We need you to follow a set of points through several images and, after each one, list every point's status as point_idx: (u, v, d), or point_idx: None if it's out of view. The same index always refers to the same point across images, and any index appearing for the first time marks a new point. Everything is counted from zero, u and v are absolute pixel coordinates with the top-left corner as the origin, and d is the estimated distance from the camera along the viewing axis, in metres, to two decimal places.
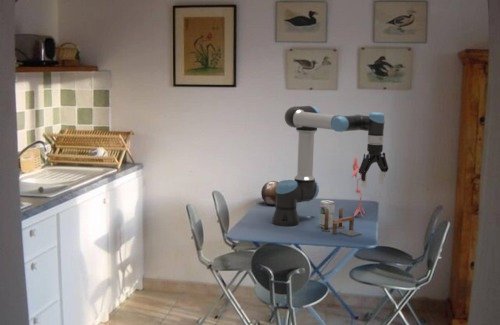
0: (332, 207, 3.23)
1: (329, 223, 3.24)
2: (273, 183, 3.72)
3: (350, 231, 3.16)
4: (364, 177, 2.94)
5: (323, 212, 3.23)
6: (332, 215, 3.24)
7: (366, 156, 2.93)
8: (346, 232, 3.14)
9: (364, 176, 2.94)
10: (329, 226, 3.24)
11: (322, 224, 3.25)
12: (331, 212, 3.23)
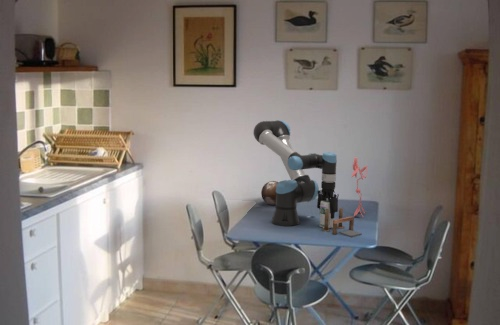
0: None
1: None
2: (273, 183, 3.72)
3: (350, 231, 3.16)
4: None
5: (323, 212, 3.23)
6: None
7: None
8: (346, 232, 3.14)
9: None
10: (329, 226, 3.24)
11: (322, 224, 3.25)
12: None
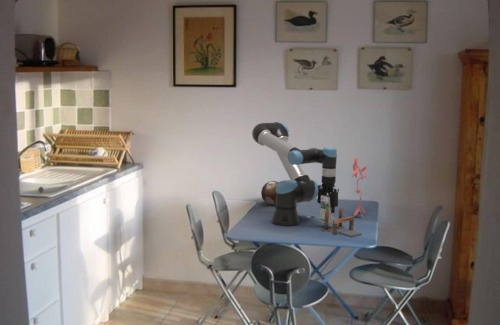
0: None
1: None
2: (273, 183, 3.72)
3: (350, 231, 3.16)
4: None
5: (323, 206, 3.23)
6: None
7: None
8: (346, 232, 3.14)
9: None
10: (329, 221, 3.23)
11: (322, 219, 3.24)
12: None
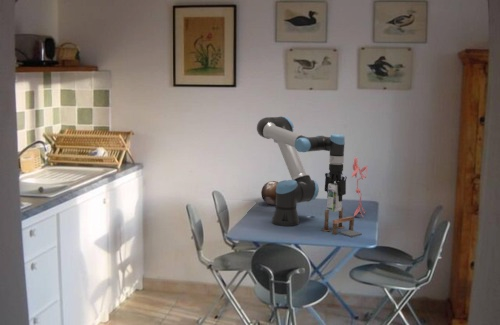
0: None
1: None
2: (273, 183, 3.72)
3: (350, 231, 3.16)
4: None
5: (331, 194, 3.18)
6: None
7: None
8: (346, 232, 3.14)
9: None
10: (337, 209, 3.18)
11: (330, 207, 3.19)
12: None
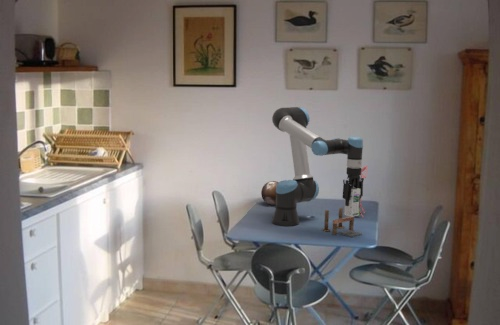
0: None
1: None
2: (273, 183, 3.72)
3: (350, 231, 3.16)
4: (348, 202, 3.07)
5: (357, 199, 3.08)
6: None
7: (345, 182, 3.04)
8: (346, 232, 3.14)
9: (348, 201, 3.07)
10: None
11: (355, 213, 3.09)
12: None
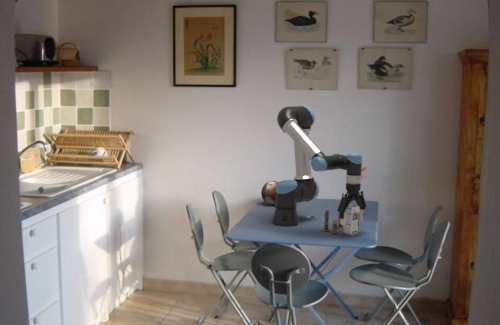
0: None
1: None
2: (273, 183, 3.72)
3: None
4: (343, 215, 3.06)
5: (356, 217, 3.10)
6: None
7: (344, 195, 3.05)
8: None
9: (343, 214, 3.06)
10: None
11: (354, 230, 3.11)
12: None
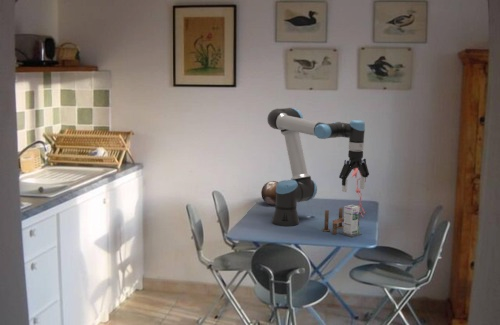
0: None
1: None
2: (273, 183, 3.72)
3: None
4: (344, 182, 3.08)
5: (356, 217, 3.10)
6: None
7: (346, 162, 3.07)
8: None
9: (344, 181, 3.08)
10: None
11: (354, 230, 3.11)
12: None
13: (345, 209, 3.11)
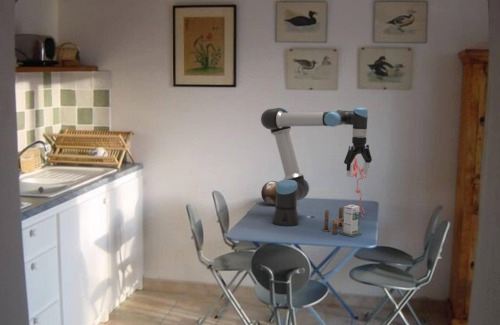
0: None
1: None
2: (273, 183, 3.72)
3: None
4: (349, 167, 3.18)
5: (356, 217, 3.10)
6: None
7: (351, 148, 3.17)
8: None
9: (349, 166, 3.18)
10: None
11: (354, 230, 3.11)
12: None
13: (345, 209, 3.11)
